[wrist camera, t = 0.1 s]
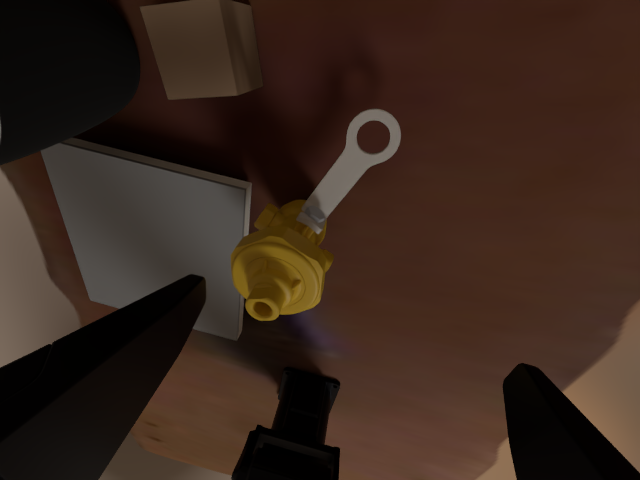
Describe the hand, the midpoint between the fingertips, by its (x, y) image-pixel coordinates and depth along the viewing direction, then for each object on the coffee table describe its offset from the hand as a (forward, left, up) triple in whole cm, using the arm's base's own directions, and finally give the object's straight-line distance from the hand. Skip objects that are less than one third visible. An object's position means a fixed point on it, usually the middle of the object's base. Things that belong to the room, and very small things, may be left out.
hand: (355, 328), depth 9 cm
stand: (-11, +15, -14) cm, 24 cm away
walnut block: (+5, +10, -14) cm, 18 cm away
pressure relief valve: (-2, +2, -14) cm, 15 cm away
